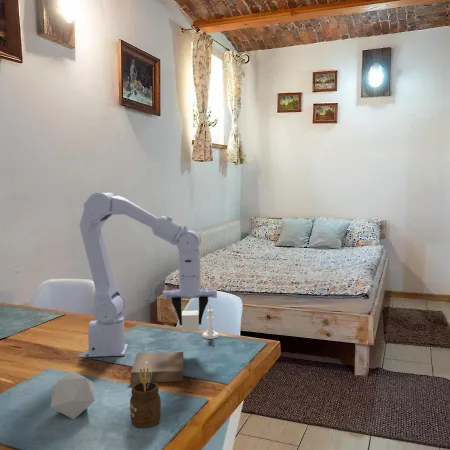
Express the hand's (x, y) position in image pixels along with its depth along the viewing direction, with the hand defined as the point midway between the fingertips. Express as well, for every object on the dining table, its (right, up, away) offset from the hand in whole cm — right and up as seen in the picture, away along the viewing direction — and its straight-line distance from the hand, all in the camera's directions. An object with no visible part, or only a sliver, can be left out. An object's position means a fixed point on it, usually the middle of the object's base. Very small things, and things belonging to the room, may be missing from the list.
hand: (190, 323), depth 126 cm
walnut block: (-7, -10, -12) cm, 17 cm away
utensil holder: (-6, -12, -36) cm, 38 cm away
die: (-21, -11, -32) cm, 40 cm away
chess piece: (+5, -7, +14) cm, 16 cm away
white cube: (0, -1, 0) cm, 1 cm away
